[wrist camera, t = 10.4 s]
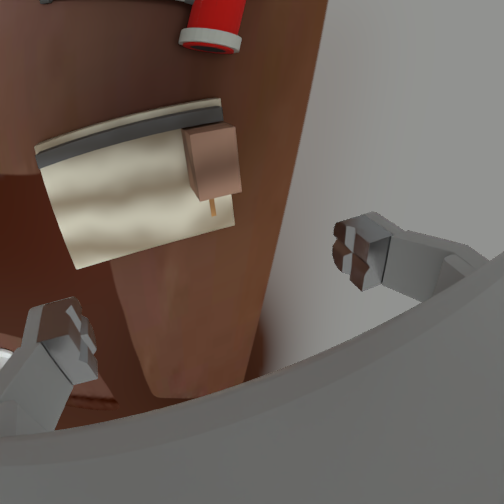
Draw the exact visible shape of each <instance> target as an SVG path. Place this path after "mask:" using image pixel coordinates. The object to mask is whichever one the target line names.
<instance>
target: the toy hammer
mask: <svg viewBox="0 0 504 504" xmlns="http://www.w3.org/2000/svg"><path fill="white" fill-rule="evenodd" d="M177 1H184V2H185V3H188V4H191V5H192V9H191V13H190V17H189V21H188V25H187V28H185V29H182V30H181V33H180V37H179V42H178V43H179V44H180V45H183V47H185V48H188V49H192V50H197V51H203V52H210V53H219V54H233V53H236V52H239V49H240V45H241V41H242V38H241V37H239V36H238V32H239V27H240V23H241V19H242V15H243V11H244V7H245V3H246V0H177ZM51 2H53V0H40V3H41V4H45V3H51Z"/></svg>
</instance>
